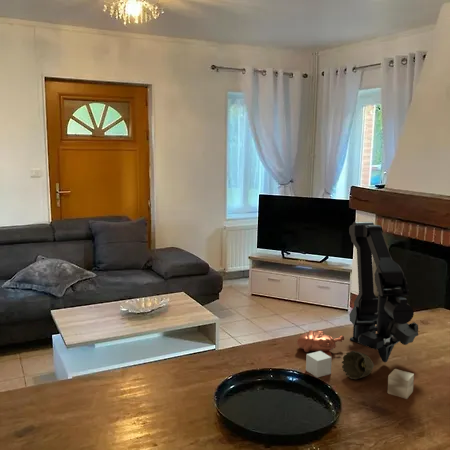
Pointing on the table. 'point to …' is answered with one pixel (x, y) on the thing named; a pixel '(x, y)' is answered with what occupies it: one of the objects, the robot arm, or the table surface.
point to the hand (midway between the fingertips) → (384, 361)
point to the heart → (318, 342)
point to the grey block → (318, 364)
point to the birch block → (400, 383)
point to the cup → (357, 365)
